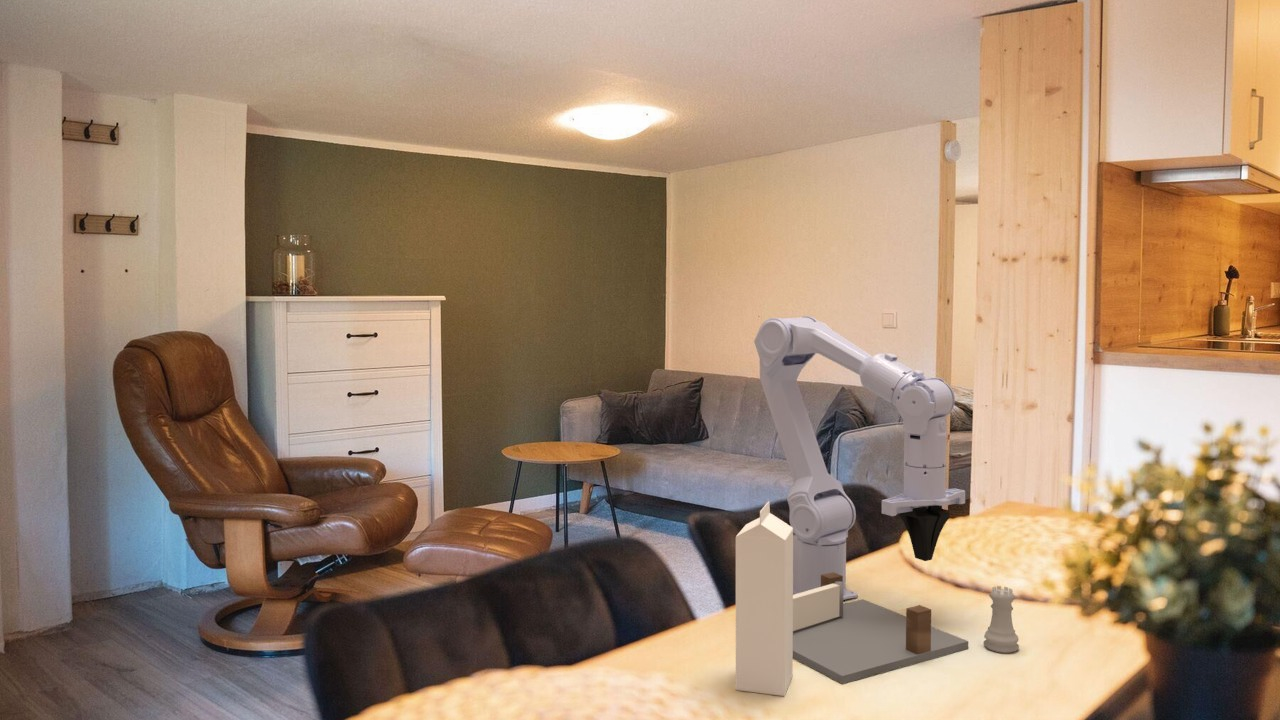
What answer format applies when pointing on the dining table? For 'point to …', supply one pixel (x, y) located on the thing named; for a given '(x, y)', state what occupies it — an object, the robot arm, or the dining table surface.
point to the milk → (764, 605)
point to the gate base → (864, 643)
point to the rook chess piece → (1001, 623)
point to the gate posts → (915, 621)
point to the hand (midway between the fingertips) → (923, 558)
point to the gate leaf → (817, 605)
